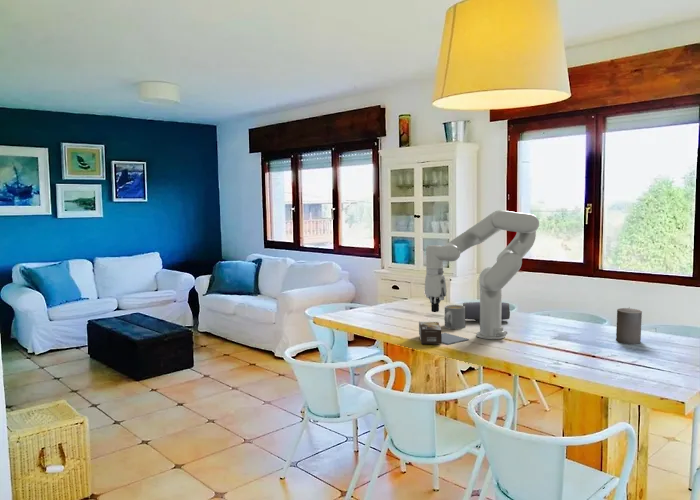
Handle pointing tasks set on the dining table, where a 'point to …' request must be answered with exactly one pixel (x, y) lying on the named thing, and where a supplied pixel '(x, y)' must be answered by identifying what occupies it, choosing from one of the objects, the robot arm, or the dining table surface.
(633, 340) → the pillar candle
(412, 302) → the dining table surface
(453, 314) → the coffee mug
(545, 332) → the dining table surface
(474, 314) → the bluetooth speaker
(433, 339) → the coffee box
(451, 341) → the mat
